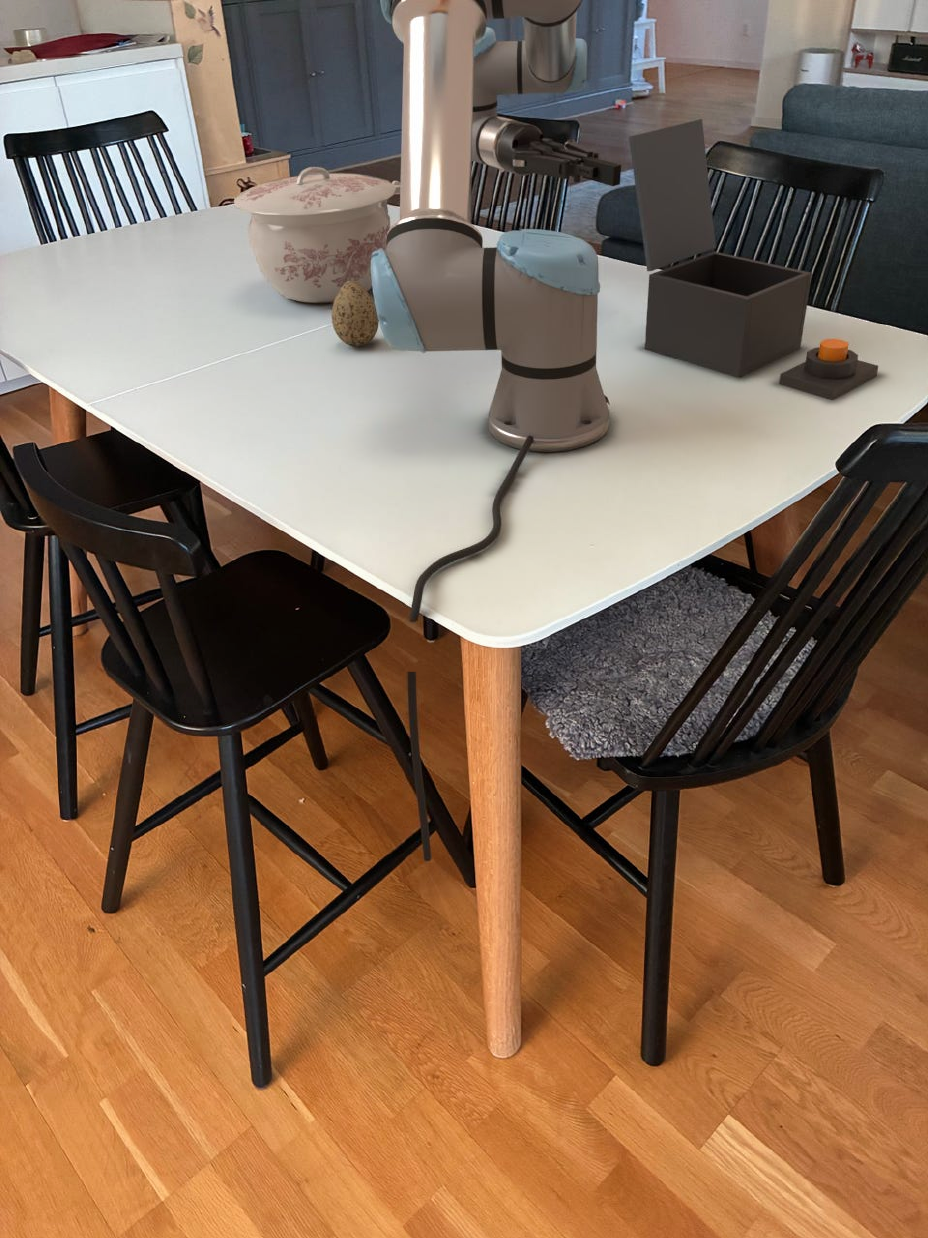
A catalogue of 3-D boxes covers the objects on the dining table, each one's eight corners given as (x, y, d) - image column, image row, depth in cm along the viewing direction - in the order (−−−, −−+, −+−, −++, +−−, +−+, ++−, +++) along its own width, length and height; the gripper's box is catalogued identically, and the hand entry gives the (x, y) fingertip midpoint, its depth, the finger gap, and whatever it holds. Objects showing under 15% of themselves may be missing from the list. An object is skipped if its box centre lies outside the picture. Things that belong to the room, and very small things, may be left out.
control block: (876, 376, 132) (881, 351, 130) (831, 400, 127) (836, 374, 125) (824, 361, 137) (828, 337, 135) (778, 384, 132) (782, 359, 130)
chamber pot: (225, 314, 167) (200, 185, 154) (285, 267, 188) (267, 150, 176) (380, 320, 160) (366, 185, 148) (425, 270, 182) (416, 149, 170)
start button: (851, 357, 130) (854, 342, 129) (836, 365, 128) (839, 350, 127) (827, 351, 132) (829, 336, 131) (812, 358, 130) (814, 343, 129)
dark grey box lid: (702, 118, 138) (697, 119, 139) (633, 135, 130) (628, 136, 131) (716, 247, 145) (711, 248, 146) (651, 270, 138) (647, 271, 138)
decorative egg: (390, 341, 152) (384, 277, 146) (361, 356, 148) (354, 290, 142) (355, 334, 156) (347, 271, 150) (326, 349, 151) (317, 284, 145)
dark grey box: (800, 348, 141) (812, 272, 135) (738, 378, 134) (748, 299, 128) (706, 322, 152) (713, 251, 146) (644, 348, 144) (649, 274, 138)
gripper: (542, 163, 164) (645, 193, 149) (482, 178, 157) (583, 211, 143) (543, 114, 159) (650, 140, 144) (481, 128, 153) (586, 156, 138)
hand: (616, 175), depth 144 cm, fingers closed
